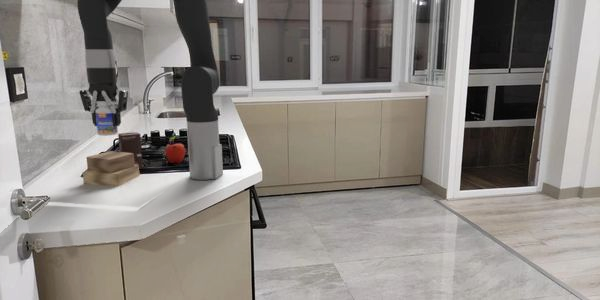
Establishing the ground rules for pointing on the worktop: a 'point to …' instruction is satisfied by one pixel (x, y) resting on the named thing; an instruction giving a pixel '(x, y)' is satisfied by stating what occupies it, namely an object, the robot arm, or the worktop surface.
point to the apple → (175, 152)
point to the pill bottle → (105, 120)
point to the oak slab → (111, 177)
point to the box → (131, 145)
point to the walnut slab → (110, 162)
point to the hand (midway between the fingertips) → (107, 125)
